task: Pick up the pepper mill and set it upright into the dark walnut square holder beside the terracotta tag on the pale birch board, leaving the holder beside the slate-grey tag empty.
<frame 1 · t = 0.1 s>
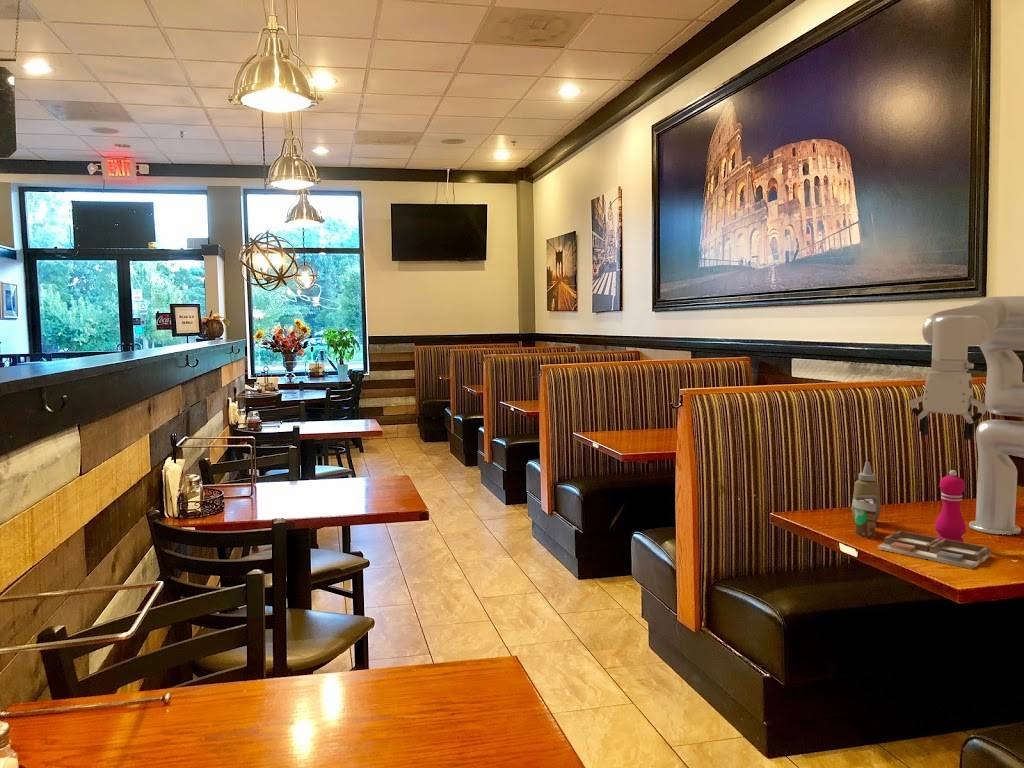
hand: (945, 437, 188), 31 cm above the table, tool pointing down, fingers open, 9 cm apart
food container: (863, 534, 217), on the table
holder board: (933, 553, 198), on the table
pepper mill: (949, 544, 207), on the table
squeeze bottle: (865, 522, 230), on the table
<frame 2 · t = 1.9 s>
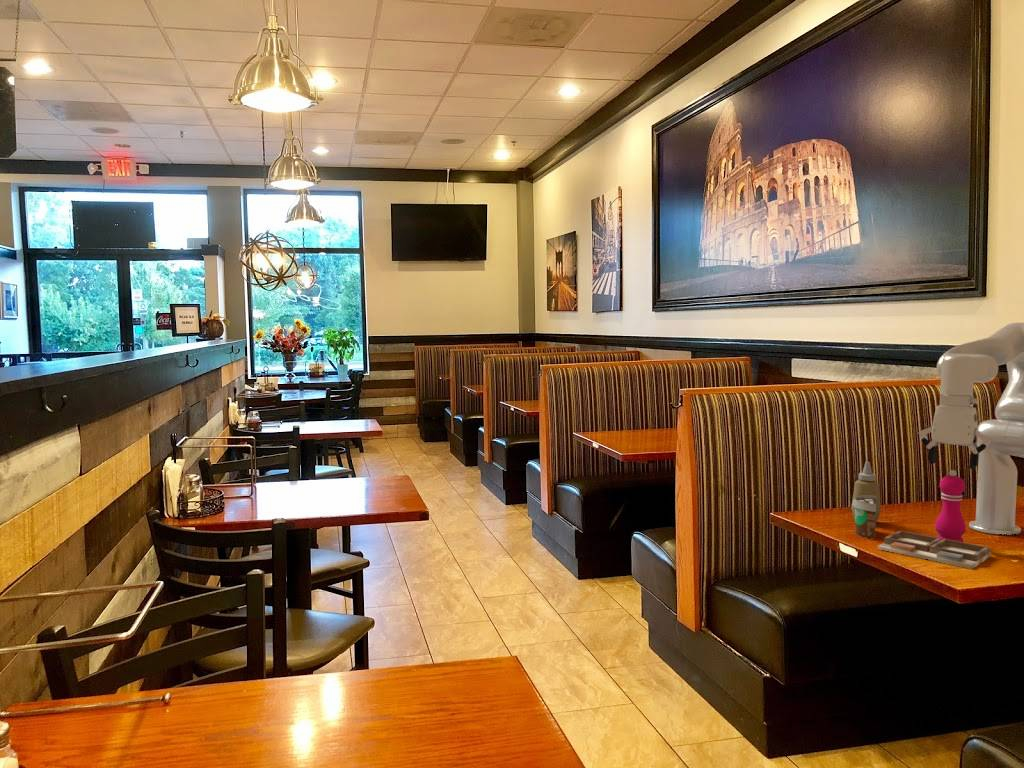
hand: (952, 465, 205), 21 cm above the table, tool pointing down, fingers open, 9 cm apart
nothing on the table moved.
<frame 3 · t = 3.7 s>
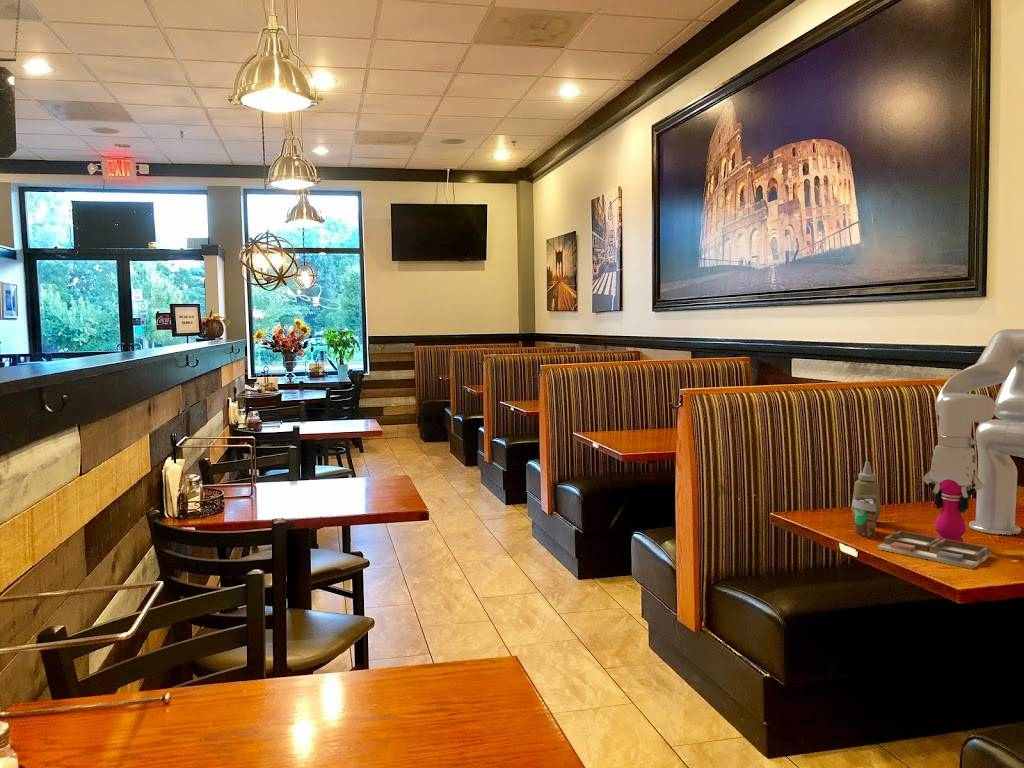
hand: (951, 509, 206), 9 cm above the table, tool pointing down, fingers closed on pepper mill, 5 cm apart
pepper mill: (949, 544, 207), on the table, touching gripper
everything else where it was.
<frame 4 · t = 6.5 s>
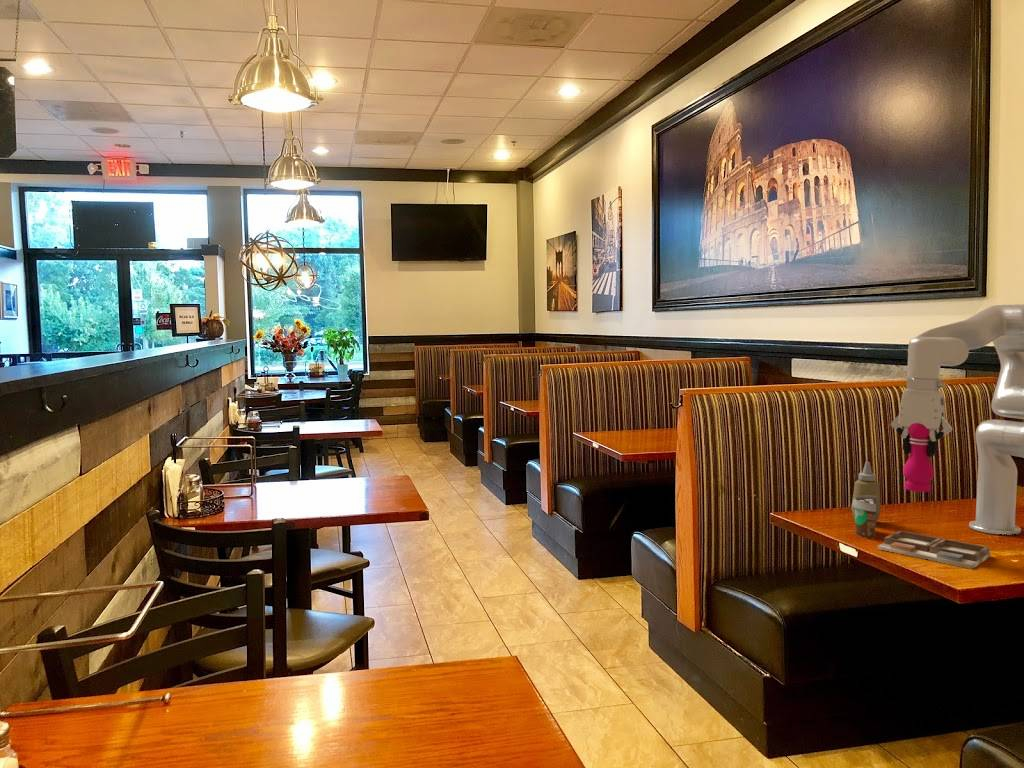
hand: (919, 454, 202), 25 cm above the table, tool pointing down, fingers closed on pepper mill, 5 cm apart
pepper mill: (917, 490, 202), point 15 cm above the table, touching gripper
everything else where it was.
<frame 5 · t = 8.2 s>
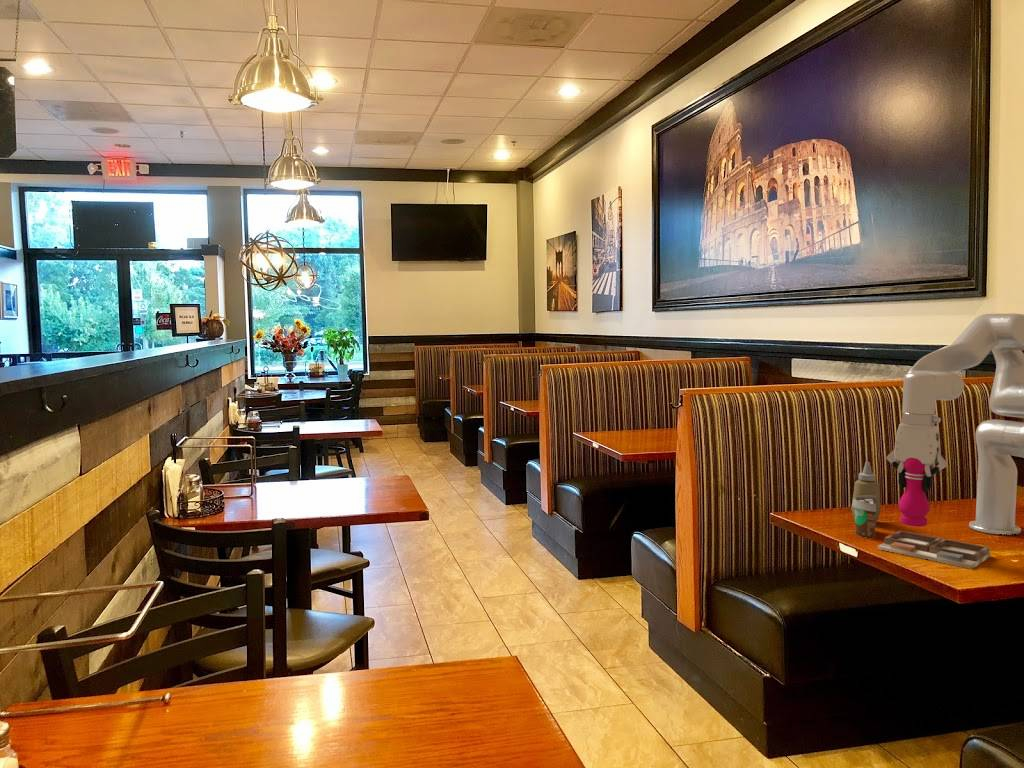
hand: (914, 488, 202), 16 cm above the table, tool pointing down, fingers closed on pepper mill, 5 cm apart
pepper mill: (913, 524, 203), point 6 cm above the table, touching gripper
everything else where it was.
when the fingers open (11 cm above the table, at t = 9.5 s): pepper mill stays where it is, resting on holder board.
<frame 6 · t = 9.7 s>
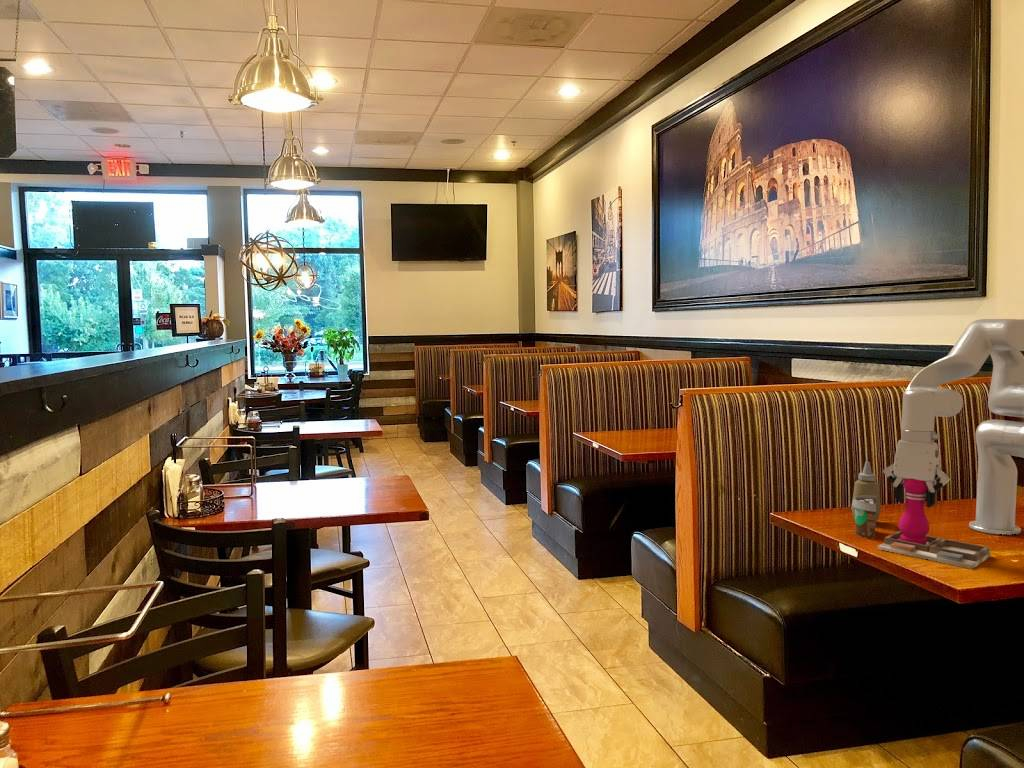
hand: (914, 503, 202), 12 cm above the table, tool pointing down, fingers open, 7 cm apart
pepper mill: (913, 544, 203), point 1 cm above the table, touching holder board
everything else where it was.
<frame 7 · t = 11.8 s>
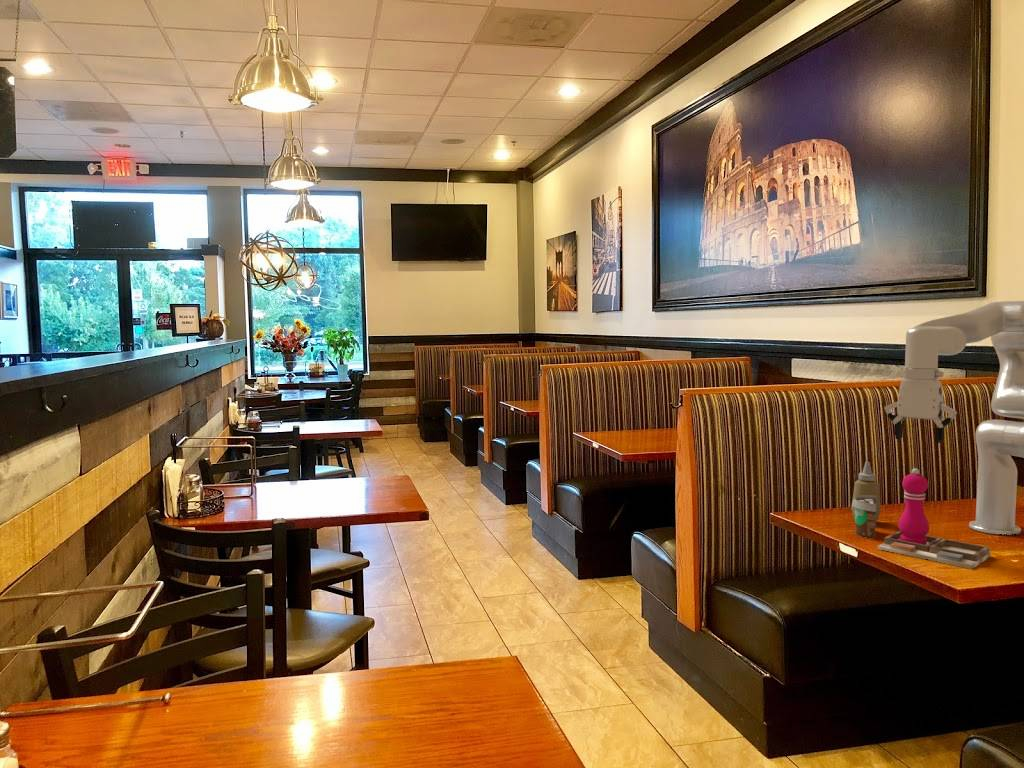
hand: (918, 440, 201), 28 cm above the table, tool pointing down, fingers open, 9 cm apart
nothing on the table moved.
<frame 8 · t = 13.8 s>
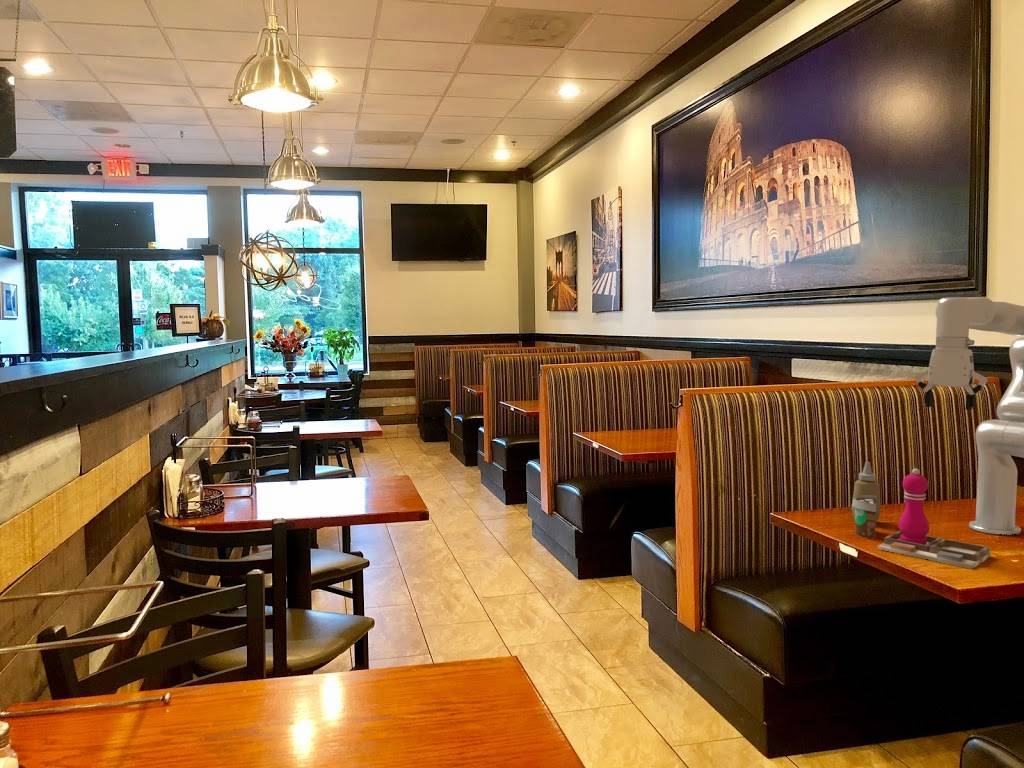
hand: (948, 408, 206), 36 cm above the table, tool pointing down, fingers open, 9 cm apart
nothing on the table moved.
at the end: pepper mill 0.2 cm from the target spot on the holder board, point 0.8 cm above the holder board's base; pepper mill tilted 1°; the gripper is holding nothing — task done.
